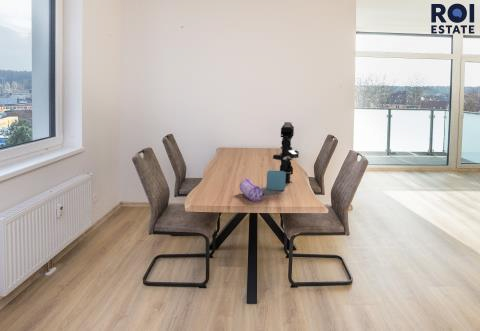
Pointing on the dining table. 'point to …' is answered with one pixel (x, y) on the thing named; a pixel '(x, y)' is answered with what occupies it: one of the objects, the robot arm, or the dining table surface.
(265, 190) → the felt mat
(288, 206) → the dining table surface
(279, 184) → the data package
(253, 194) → the pencil case
